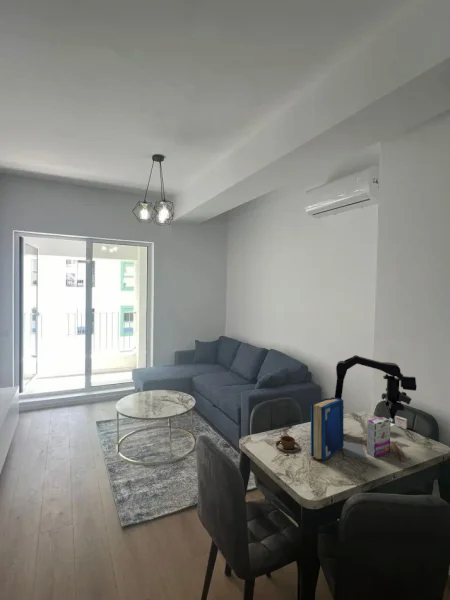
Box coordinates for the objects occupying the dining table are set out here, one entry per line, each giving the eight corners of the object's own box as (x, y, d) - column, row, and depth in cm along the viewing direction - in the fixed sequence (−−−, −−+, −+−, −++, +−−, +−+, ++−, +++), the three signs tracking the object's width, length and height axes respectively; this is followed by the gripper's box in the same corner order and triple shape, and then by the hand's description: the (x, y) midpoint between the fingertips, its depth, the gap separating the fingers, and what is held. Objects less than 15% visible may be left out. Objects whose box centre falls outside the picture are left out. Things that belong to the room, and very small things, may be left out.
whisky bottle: (390, 423, 199) (359, 437, 183) (390, 413, 199) (359, 426, 183) (407, 428, 191) (376, 444, 174) (407, 418, 190) (376, 433, 174)
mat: (344, 455, 157) (344, 455, 157) (340, 442, 170) (340, 442, 170) (366, 458, 155) (366, 457, 155) (360, 444, 168) (360, 444, 168)
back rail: (400, 461, 152) (400, 455, 152) (391, 447, 166) (392, 441, 166) (403, 461, 152) (403, 455, 152) (394, 447, 166) (394, 442, 166)
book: (332, 443, 169) (331, 394, 169) (346, 447, 164) (345, 397, 164) (310, 457, 154) (309, 403, 154) (324, 462, 149) (323, 406, 149)
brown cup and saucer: (283, 438, 174) (283, 427, 174) (321, 449, 164) (321, 437, 164) (269, 452, 160) (269, 439, 159) (310, 464, 149) (310, 451, 149)
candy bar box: (381, 448, 165) (382, 416, 164) (390, 453, 160) (391, 419, 160) (365, 453, 160) (366, 419, 159) (374, 458, 155) (375, 423, 155)
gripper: (416, 394, 160) (415, 426, 161) (403, 384, 179) (402, 413, 179) (391, 392, 163) (390, 424, 163) (381, 382, 181) (380, 410, 181)
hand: (391, 417), depth 172 cm, fingers open, 3 cm apart
